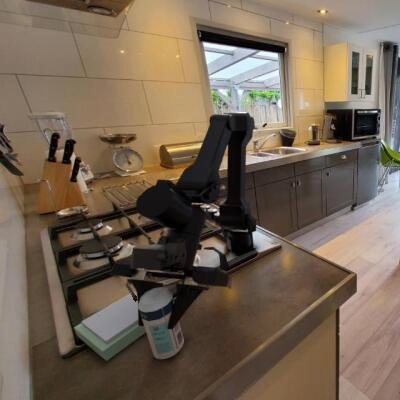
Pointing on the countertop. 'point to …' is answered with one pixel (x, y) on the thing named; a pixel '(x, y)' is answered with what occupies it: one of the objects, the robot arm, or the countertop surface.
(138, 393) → the countertop surface
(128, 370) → the countertop surface
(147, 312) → the white canister
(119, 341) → the kitchen scale
